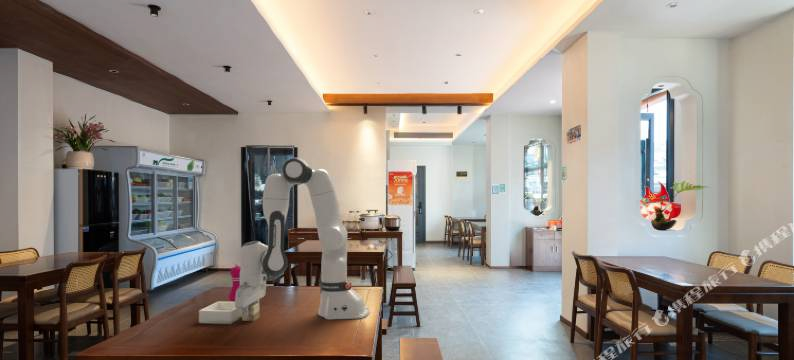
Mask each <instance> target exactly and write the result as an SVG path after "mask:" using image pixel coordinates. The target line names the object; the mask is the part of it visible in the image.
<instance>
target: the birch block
mask: <svg viewBox="0 0 794 360" xmlns="http://www.w3.org/2000/svg"><path fill="white" fill-rule="evenodd" d="M248 311H250V313H249V315H248V316H244V312H243V309H242V321H243V322H245V321H246V322H255V321H256V320H259V318H260V302H259V303H254V302H253V303H252V304H250V305H249V307H248Z"/></svg>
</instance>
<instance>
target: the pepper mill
mask: <svg viewBox="0 0 794 360" xmlns="http://www.w3.org/2000/svg"><path fill="white" fill-rule="evenodd" d="M240 270H241V266H240V262H237V263H235V264H234V266H233V267H232V268H231V269H230V270H229V271H230V276H231V281H232V287H231V290H230V292H229V294H228V300H230V301H229V302H235V296H236V291H237V289H238V288H239V286H240Z"/></svg>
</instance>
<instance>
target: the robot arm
mask: <svg viewBox="0 0 794 360" xmlns="http://www.w3.org/2000/svg"><path fill="white" fill-rule="evenodd" d="M281 170H282V172H280V173H277V172H276V173H272V174H270V175H268V176H267V177H266V179H265V182H264V187H263V194H262V211H263V216H264V217H265V220H266V223H267V226H268V227H267V228H268V237H267V239H268V241H267V243H268V244H264V243H262V242H261V241H259V240H253V241H248V242H246V243H243V244H242V246H241V247H240V253H239V266H240V267H241V270H240V286H239V288H238V289H237V291H236V296H235V307H236V308H242V309H243V312H244V316H248V315H249V313H250V311H248V307H249V305H250V304H252V303H259V304H260V300H261V299H262V298H264V297H265V296H266V293H267V291H266V290H267V279H268V278H267V275H268V276H271V277H277V276H280V275H282V274H284V273H285V272H286V270H287V269H288V265H289V259H288V257H287V255H286V252H285V251H286V250H285V229H286V228H285V227H286V221H287V216H288V213H289V212H288V211H289V206H290V191H291V189H292V187H296V186H299V185H303V184H304V185H305V187H307V189H308V192H309V193H308V194H309V196H310V201H311V205H312V209H313V212H314V215H315V216H314V217H315V223H316V224H315V225H316V229H317V234H318V240H319V244H320V245H321V247H322V250H321V251H322V253H321V262H320V263H321V267H320V268H321V271H320V273H321V275H320V276H321V280H320V285H319V289H320V300H319V301H320V303H319V307H318V312H317V315H318V316H319V317H322V318H324V319H326V320H349V319H351V320H352V319H363V318H365V317H367V316H368V315H369V314H370V312H371V310H370V307H368V306H366V305H365V301H364V297H363V296H362V295H361V294H359V293H358V292H357V291H355V290H354V289H353V288H352V282H353V281H352V280H349V279H348V276H347V275H348V264H347V263H348V230H347V228H346V227H345V225H344V224H343V220H342V216H341V209H340V206H339V201H338V198H337V197H338V196H337V193H336V190H335V187H334V184H333V180H332V177H331V176H330V174H329V172H328V171H327V170H326V169H324V168H315V169H312V168H311V167H310V165H309V163H307V162H306V161H305V160H304V159H302V158H299V157H291V158H289V159H287V160H286V161H284V163H283V165H282V169H281ZM263 271H264V273H265V274H263Z"/></svg>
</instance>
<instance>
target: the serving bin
mask: <svg viewBox="0 0 794 360" xmlns="http://www.w3.org/2000/svg"><path fill="white" fill-rule="evenodd" d="M241 318H242V308H236V307H235V302H231V301H218V300H217V301H215V302H214V303H212V304H210V305H208V306H206V307H204V308H201V309H200V310H198V323H199V324H217V325H218V324H220V325H223V324H224V325H231V324H233V323H235V322H236V321H238V320H240V319H241Z"/></svg>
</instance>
